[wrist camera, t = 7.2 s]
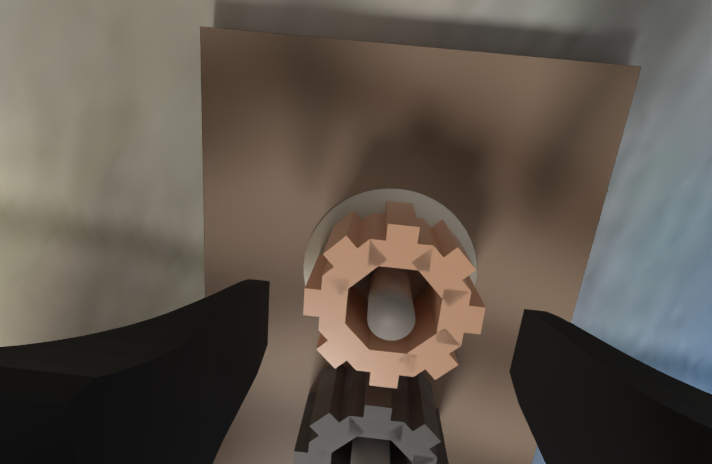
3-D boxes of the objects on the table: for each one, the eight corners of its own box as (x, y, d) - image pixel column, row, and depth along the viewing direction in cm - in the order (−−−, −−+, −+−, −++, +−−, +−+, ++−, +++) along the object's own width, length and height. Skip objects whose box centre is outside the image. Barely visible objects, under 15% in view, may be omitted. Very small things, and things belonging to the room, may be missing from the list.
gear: (452, 344, 16) (468, 396, 13) (314, 329, 16) (299, 377, 13) (476, 209, 14) (500, 235, 11) (323, 194, 14) (308, 216, 12)
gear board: (505, 515, 20) (539, 629, 15) (217, 480, 20) (172, 581, 16) (623, 69, 14) (732, 52, 9) (212, 31, 14) (139, -1, 10)
